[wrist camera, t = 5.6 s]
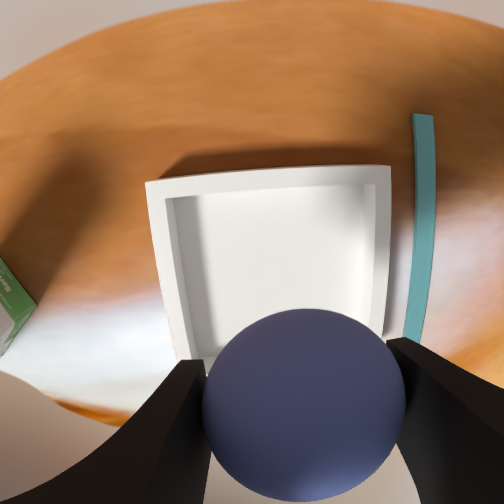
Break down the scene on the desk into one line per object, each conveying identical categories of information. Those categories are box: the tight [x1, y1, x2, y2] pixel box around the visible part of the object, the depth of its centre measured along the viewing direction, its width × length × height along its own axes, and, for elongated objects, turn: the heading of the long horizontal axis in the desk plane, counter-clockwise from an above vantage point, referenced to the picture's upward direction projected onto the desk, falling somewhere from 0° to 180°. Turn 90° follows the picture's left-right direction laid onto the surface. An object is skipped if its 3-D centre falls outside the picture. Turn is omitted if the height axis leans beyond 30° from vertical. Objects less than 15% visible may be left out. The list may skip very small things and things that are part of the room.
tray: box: [145, 164, 391, 376], centre depth 15 cm, size 11×11×2 cm
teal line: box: [403, 113, 436, 344], centre depth 16 cm, size 16×1×1 cm, turn 4°
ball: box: [201, 308, 406, 502], centre depth 7 cm, size 5×5×5 cm
